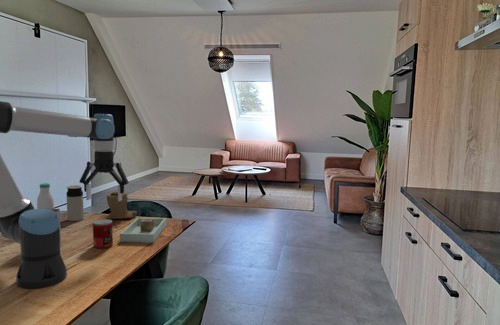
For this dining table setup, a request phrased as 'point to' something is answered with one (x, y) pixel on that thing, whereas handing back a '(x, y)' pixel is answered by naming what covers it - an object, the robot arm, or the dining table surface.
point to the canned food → (102, 233)
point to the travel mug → (75, 203)
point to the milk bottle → (45, 197)
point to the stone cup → (119, 207)
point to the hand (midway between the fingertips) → (104, 200)
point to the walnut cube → (147, 225)
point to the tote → (136, 236)
